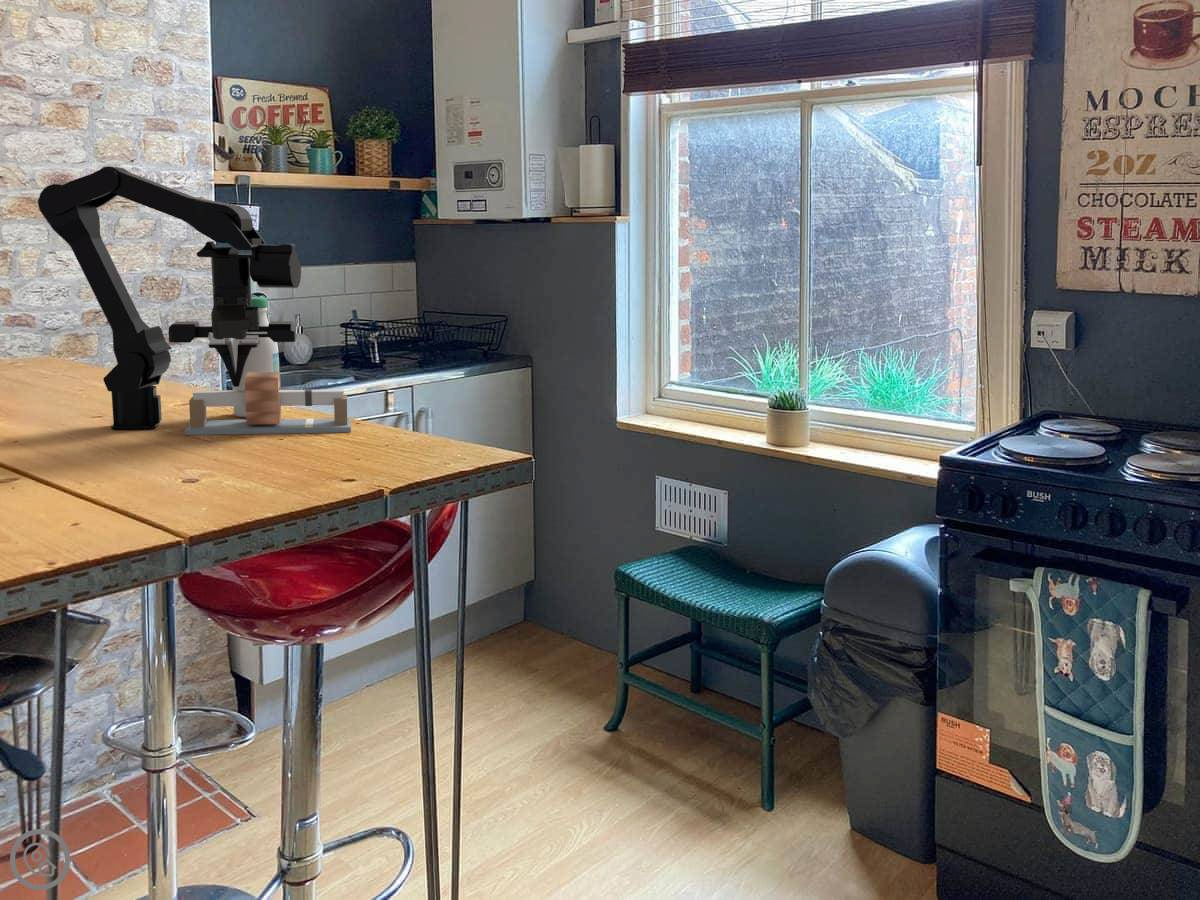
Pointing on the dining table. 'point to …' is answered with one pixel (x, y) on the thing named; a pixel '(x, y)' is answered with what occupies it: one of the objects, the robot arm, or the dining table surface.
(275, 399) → the collar
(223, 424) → the rail
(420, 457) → the dining table surface
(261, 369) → the milk bottle
